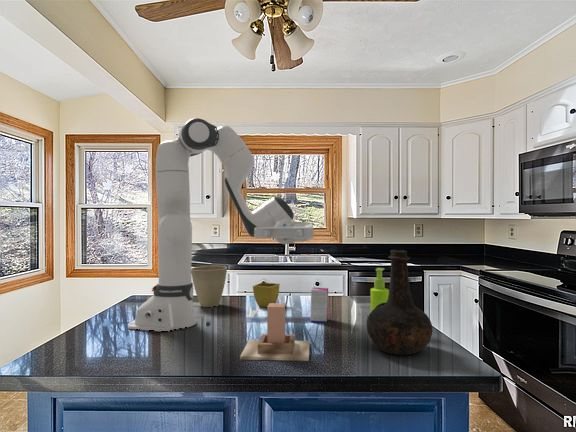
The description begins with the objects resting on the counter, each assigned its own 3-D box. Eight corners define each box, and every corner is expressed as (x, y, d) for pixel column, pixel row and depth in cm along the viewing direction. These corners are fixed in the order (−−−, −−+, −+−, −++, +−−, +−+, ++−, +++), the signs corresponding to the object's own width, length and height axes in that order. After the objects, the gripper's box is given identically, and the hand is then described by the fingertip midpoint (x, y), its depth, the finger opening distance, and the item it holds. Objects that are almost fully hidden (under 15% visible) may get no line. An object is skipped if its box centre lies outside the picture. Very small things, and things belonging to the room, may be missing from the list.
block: (267, 350, 109) (267, 306, 109) (269, 345, 114) (269, 303, 114) (283, 350, 109) (283, 306, 109) (285, 345, 113) (285, 303, 113)
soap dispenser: (390, 326, 135) (390, 267, 135) (386, 332, 128) (386, 270, 128) (373, 324, 137) (373, 266, 137) (368, 330, 131) (368, 269, 131)
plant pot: (198, 301, 176) (198, 265, 176) (231, 302, 174) (231, 265, 174) (185, 309, 161) (185, 270, 161) (221, 310, 159) (220, 270, 159)
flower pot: (252, 307, 164) (252, 285, 164) (261, 303, 172) (261, 282, 172) (271, 309, 161) (271, 286, 161) (280, 304, 169) (280, 283, 169)
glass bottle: (400, 336, 124) (400, 246, 124) (447, 354, 108) (447, 250, 108) (353, 345, 116) (353, 248, 115) (396, 366, 100) (396, 254, 100)
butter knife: (259, 310, 159) (252, 310, 159) (250, 327, 135) (242, 326, 135) (259, 311, 159) (252, 311, 159) (250, 328, 135) (242, 328, 135)
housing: (240, 359, 105) (239, 346, 105) (249, 342, 119) (249, 331, 119) (308, 360, 104) (308, 348, 104) (309, 343, 117) (309, 332, 117)
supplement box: (326, 323, 140) (326, 290, 140) (310, 322, 141) (310, 289, 141) (328, 318, 145) (328, 287, 145) (312, 318, 147) (312, 287, 147)
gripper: (256, 222, 144) (250, 223, 130) (313, 222, 142) (313, 223, 128) (256, 240, 144) (250, 243, 130) (313, 240, 142) (313, 243, 128)
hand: (282, 233), depth 129 cm, fingers open, 8 cm apart
